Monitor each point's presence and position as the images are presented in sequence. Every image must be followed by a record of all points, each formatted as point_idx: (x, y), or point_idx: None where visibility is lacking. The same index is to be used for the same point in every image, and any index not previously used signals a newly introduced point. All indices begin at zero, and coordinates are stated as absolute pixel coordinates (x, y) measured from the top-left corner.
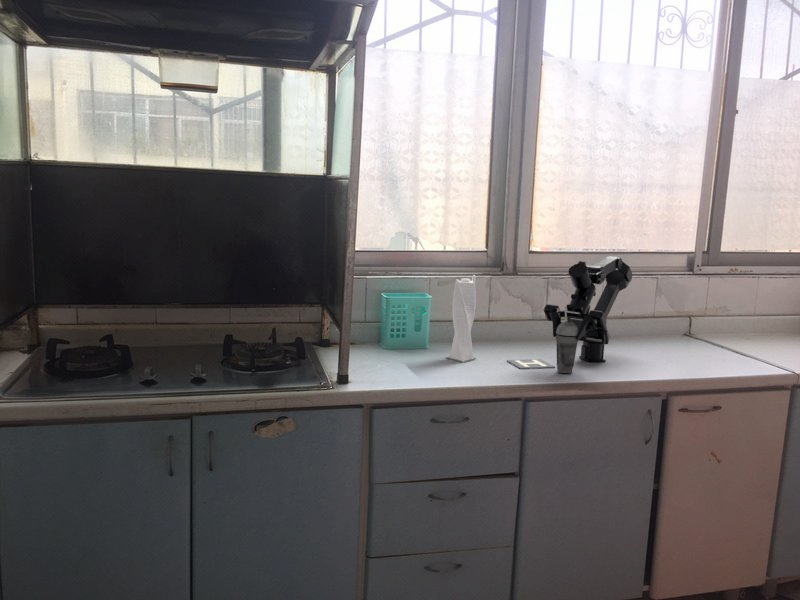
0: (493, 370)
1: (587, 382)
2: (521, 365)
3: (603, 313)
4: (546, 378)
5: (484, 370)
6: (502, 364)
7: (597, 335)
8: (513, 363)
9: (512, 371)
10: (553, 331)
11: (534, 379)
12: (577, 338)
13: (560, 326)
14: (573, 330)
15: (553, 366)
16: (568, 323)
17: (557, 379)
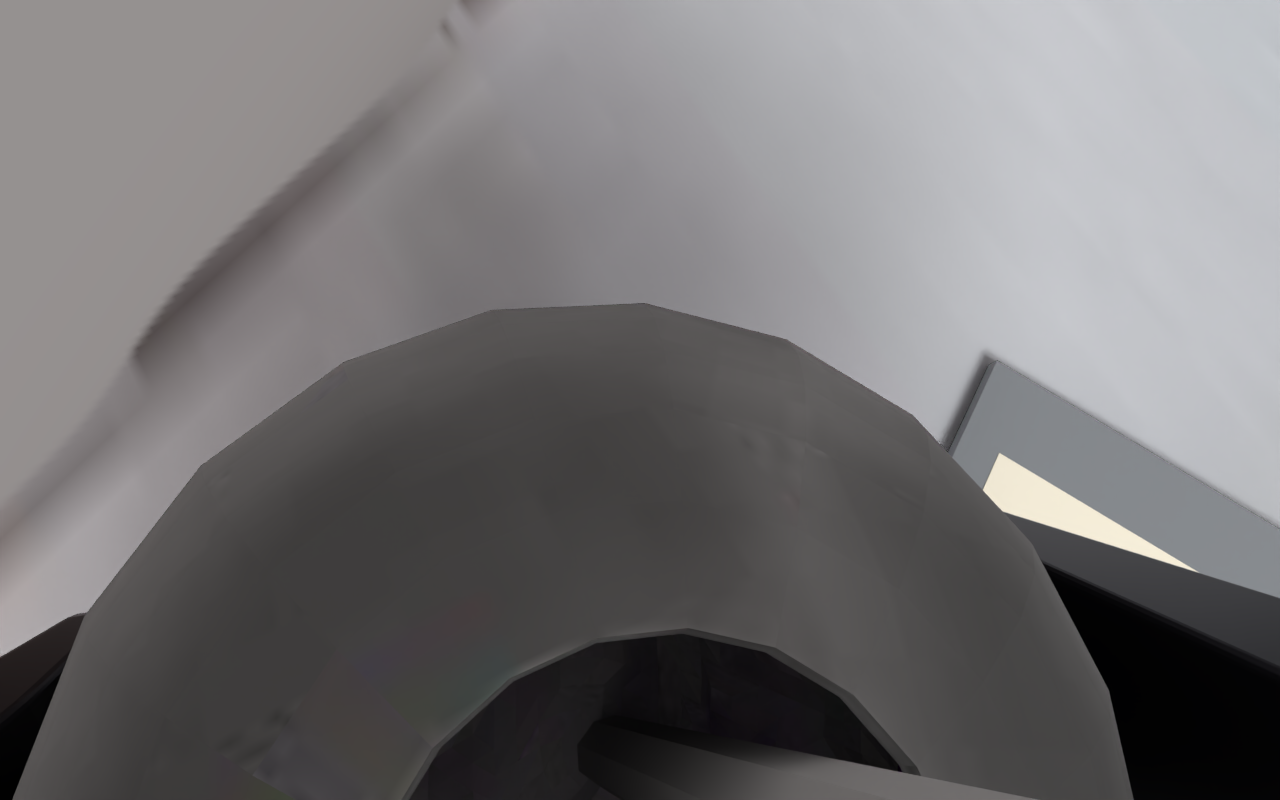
0: (1096, 108)
1: (72, 462)
2: (1064, 469)
3: None
4: (553, 238)
5: (1138, 48)
6: (1235, 393)
7: None
8: (1180, 479)
9: (967, 216)
10: (1045, 535)
11: (619, 108)
12: (75, 620)
13: (816, 370)
14: (133, 555)
15: None
16: (445, 552)
17: (438, 295)
